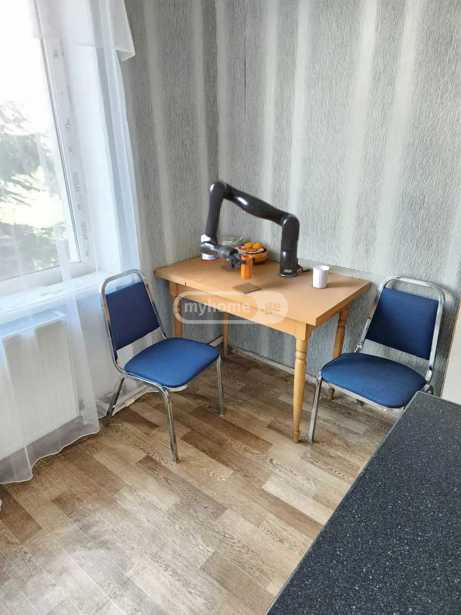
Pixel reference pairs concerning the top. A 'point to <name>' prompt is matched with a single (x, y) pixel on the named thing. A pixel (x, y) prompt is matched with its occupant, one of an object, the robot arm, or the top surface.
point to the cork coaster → (246, 288)
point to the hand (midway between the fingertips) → (250, 261)
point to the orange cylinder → (247, 267)
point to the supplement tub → (204, 256)
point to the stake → (232, 266)
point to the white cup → (320, 276)
